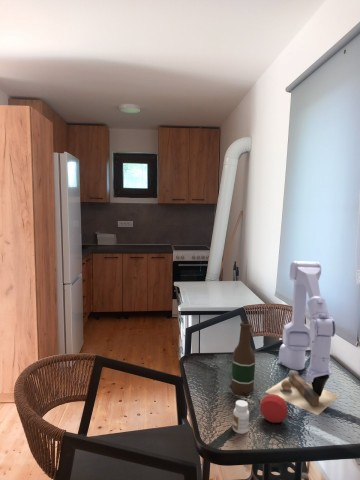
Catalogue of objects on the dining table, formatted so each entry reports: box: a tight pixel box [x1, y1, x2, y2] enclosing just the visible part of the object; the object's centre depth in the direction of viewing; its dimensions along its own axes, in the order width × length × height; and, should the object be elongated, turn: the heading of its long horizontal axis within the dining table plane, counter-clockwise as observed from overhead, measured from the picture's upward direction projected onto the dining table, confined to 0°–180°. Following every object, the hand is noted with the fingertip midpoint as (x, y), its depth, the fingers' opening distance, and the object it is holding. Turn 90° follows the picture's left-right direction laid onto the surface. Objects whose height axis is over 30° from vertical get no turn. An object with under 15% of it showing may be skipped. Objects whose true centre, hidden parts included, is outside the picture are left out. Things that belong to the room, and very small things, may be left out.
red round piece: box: [259, 394, 289, 424], centre depth 105 cm, size 8×8×8 cm
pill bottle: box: [232, 399, 250, 435], centre depth 100 cm, size 4×4×8 cm
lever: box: [288, 369, 319, 406], centre depth 119 cm, size 18×3×3 cm, turn 7°
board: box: [264, 376, 340, 416], centre depth 118 cm, size 18×17×5 cm
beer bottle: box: [230, 321, 256, 397], centre depth 120 cm, size 8×8×24 cm
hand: (317, 395), depth 115 cm, fingers closed
